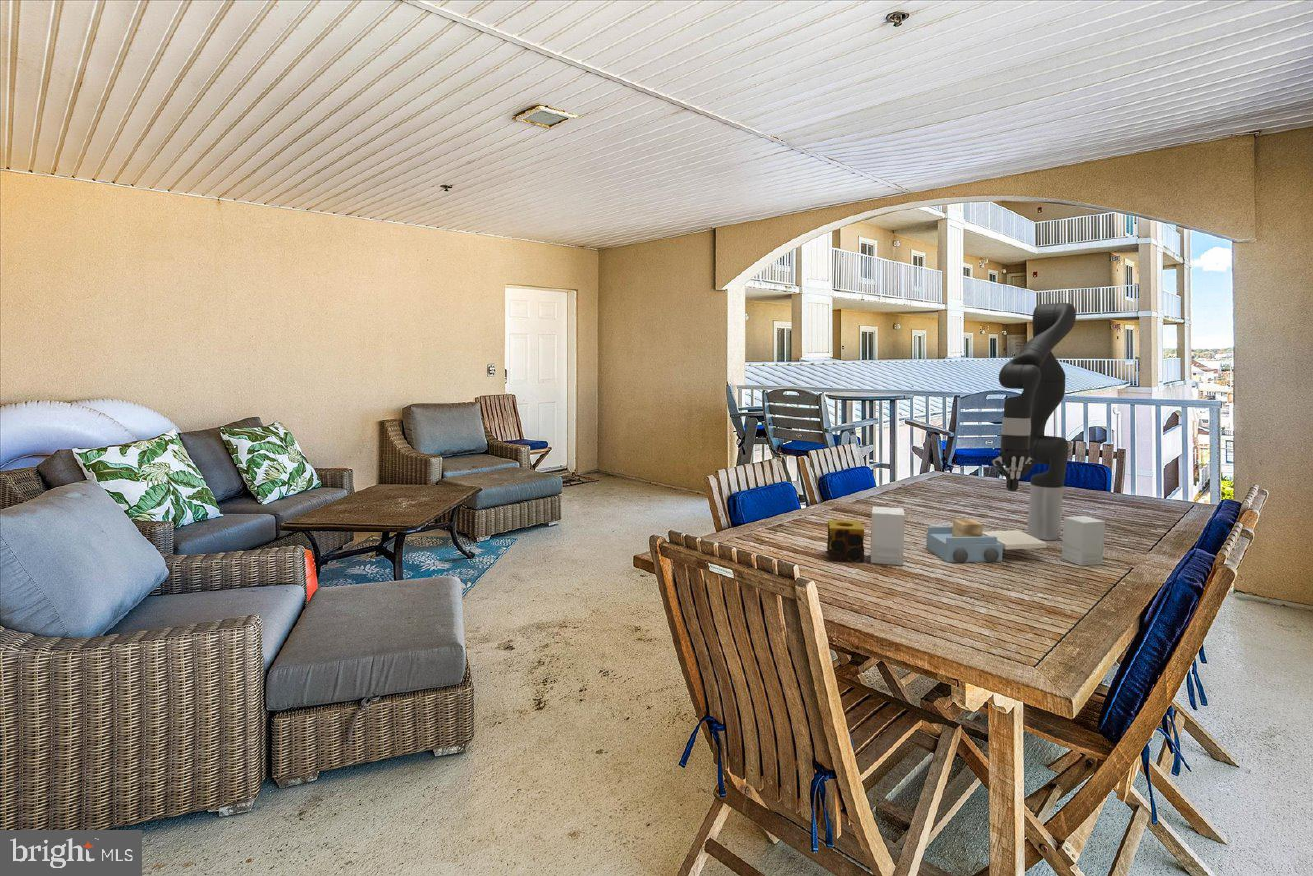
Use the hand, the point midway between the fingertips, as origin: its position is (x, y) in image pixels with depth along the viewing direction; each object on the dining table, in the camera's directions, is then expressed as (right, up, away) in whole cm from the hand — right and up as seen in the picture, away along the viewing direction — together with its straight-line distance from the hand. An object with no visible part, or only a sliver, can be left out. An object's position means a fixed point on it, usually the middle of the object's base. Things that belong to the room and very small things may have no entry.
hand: (1011, 490), depth 194 cm
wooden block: (-13, -14, +2) cm, 19 cm away
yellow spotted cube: (-49, -20, +1) cm, 53 cm away
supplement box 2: (+17, -20, -5) cm, 27 cm away
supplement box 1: (-38, -20, -3) cm, 43 cm away
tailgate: (-6, -15, +2) cm, 16 cm away
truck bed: (-14, -19, +2) cm, 24 cm away
